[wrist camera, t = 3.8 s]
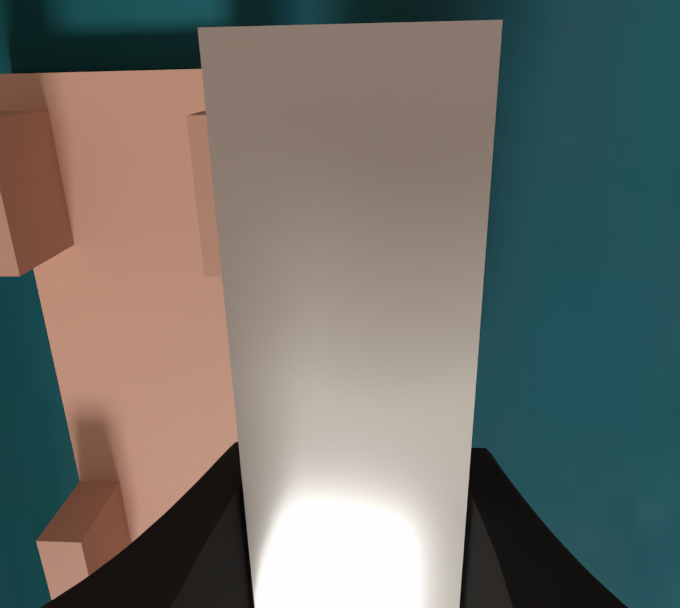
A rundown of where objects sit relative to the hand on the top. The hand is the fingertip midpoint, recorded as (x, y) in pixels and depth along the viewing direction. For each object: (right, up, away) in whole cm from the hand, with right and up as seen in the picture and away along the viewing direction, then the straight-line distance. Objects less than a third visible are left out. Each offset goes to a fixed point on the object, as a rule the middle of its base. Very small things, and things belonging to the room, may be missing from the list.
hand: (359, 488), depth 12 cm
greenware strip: (0, +2, +4) cm, 4 cm away
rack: (-6, +2, +10) cm, 11 cm away
